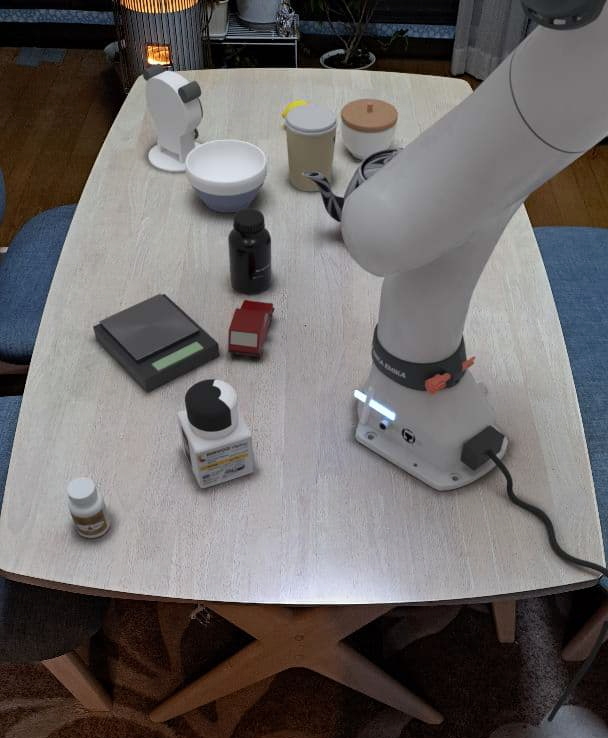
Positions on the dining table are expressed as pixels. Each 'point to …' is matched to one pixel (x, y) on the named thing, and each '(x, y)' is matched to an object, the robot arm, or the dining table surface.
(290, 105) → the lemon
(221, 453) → the container
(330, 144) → the coffee cup
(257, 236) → the supplement bottle
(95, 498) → the pill bottle
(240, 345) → the toy truck
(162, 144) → the white device on stand
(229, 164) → the bowl
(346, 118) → the trinket box
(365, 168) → the teapot
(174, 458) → the dining table surface
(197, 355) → the scale
